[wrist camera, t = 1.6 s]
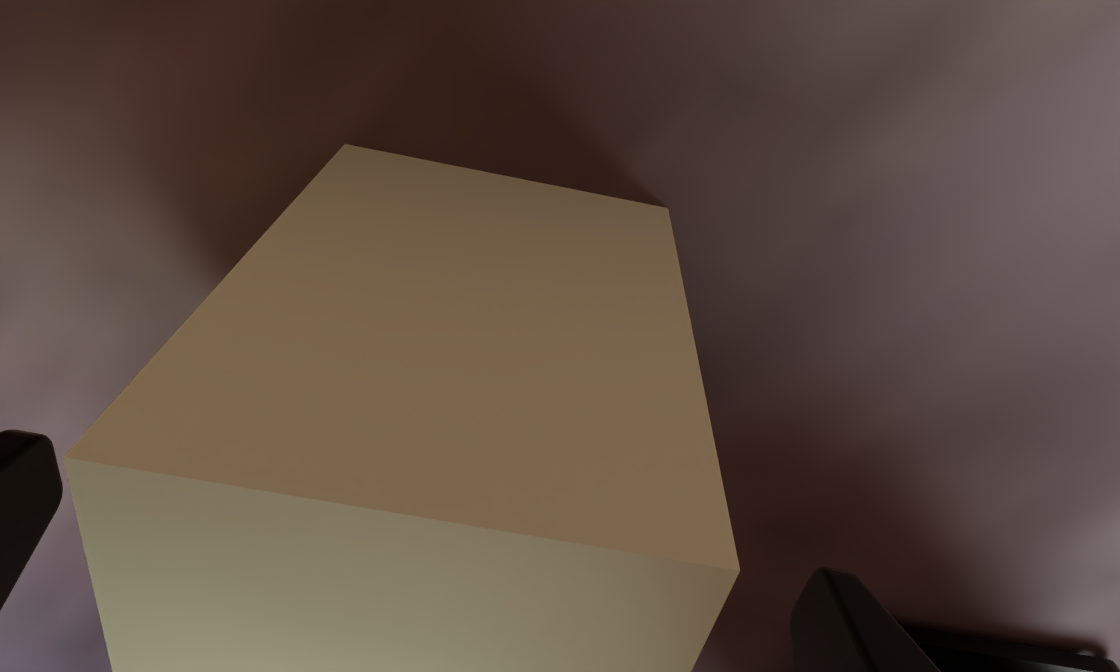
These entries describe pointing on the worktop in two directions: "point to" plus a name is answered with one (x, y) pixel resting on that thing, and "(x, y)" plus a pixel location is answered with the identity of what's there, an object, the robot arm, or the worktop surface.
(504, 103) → the worktop surface
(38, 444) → the robot arm
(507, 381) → the beige block
